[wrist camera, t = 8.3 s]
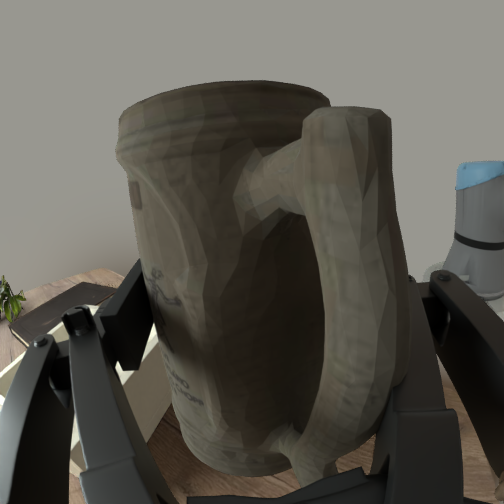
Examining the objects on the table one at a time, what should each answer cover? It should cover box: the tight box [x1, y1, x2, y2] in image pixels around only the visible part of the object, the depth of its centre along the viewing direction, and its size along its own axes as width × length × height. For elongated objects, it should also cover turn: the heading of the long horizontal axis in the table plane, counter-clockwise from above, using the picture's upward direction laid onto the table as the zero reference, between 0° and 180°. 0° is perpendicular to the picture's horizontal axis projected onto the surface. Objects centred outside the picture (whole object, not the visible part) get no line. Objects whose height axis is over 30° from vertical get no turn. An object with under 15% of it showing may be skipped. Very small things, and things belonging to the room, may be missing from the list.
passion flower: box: [0, 275, 26, 322], centre depth 48 cm, size 11×11×12 cm
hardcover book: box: [8, 282, 117, 348], centre depth 47 cm, size 16×23×2 cm
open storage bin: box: [0, 305, 172, 478], centre depth 25 cm, size 17×21×8 cm
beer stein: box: [115, 80, 412, 488], centre depth 13 cm, size 15×11×20 cm
